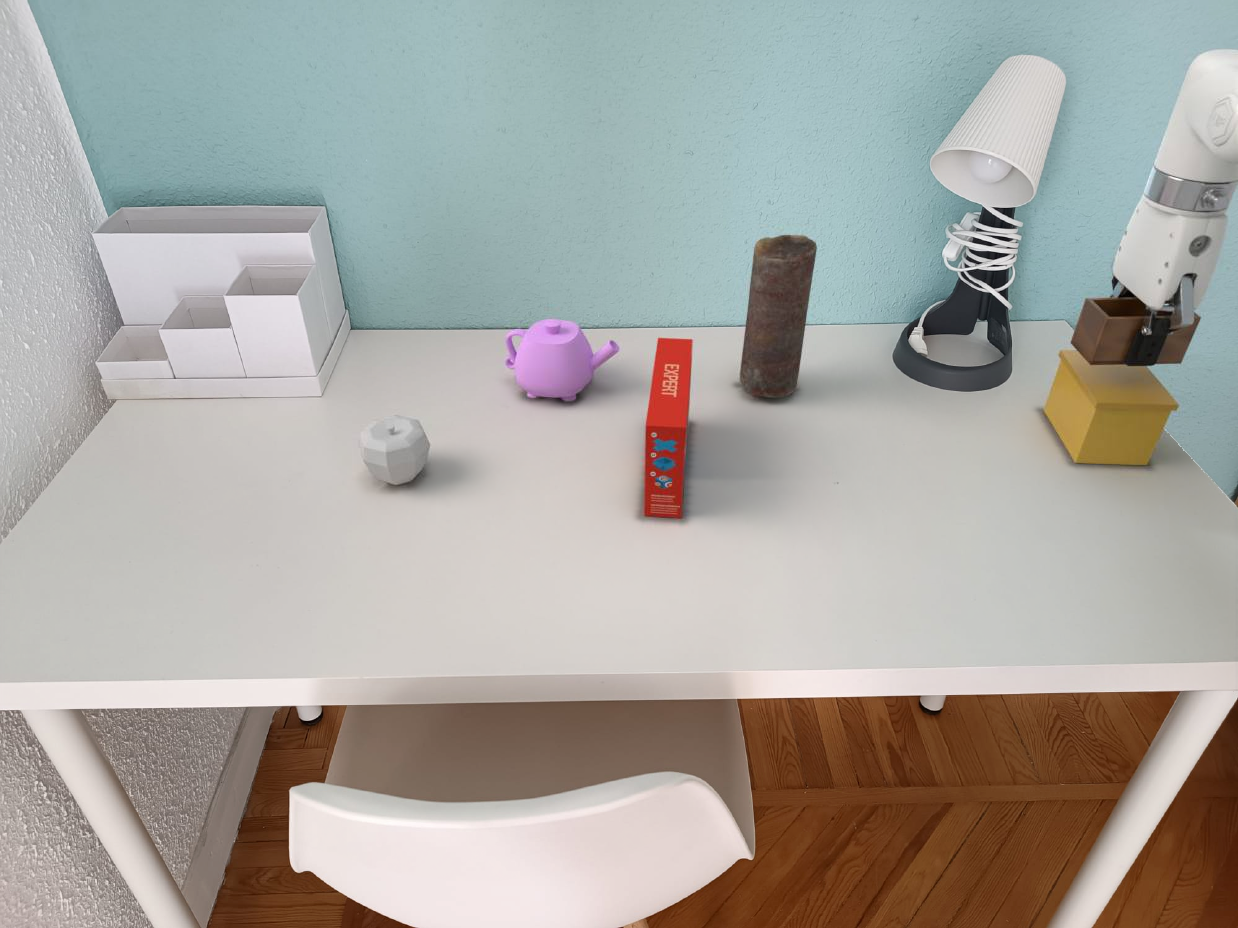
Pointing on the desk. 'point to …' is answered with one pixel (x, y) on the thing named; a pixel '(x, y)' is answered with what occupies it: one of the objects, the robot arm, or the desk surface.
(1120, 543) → the desk surface
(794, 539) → the desk surface
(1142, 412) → the box
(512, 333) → the teapot
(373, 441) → the apple
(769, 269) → the candle
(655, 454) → the toy box
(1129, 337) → the wooden cubby shelf
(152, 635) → the desk surface
